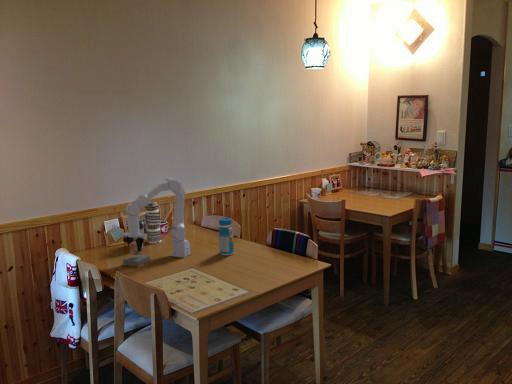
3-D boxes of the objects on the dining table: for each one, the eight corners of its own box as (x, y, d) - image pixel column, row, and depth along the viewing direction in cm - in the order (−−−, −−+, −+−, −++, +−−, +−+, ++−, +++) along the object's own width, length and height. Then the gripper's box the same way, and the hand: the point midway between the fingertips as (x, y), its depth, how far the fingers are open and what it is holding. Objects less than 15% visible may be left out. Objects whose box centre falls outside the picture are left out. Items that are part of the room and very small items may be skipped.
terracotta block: (142, 252, 251) (141, 242, 250) (137, 255, 247) (136, 244, 246) (135, 251, 253) (134, 241, 252) (130, 254, 249) (129, 243, 248)
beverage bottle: (221, 256, 257) (218, 221, 253) (218, 251, 265) (216, 217, 261) (235, 254, 259) (234, 220, 255) (232, 250, 267) (231, 216, 263)
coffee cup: (143, 251, 271) (141, 226, 268) (127, 251, 271) (125, 226, 268) (147, 246, 280) (145, 222, 277) (132, 246, 280) (129, 222, 278)
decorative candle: (165, 240, 291) (162, 201, 286) (154, 244, 283) (151, 204, 279) (154, 238, 296) (151, 200, 291) (144, 242, 288) (140, 203, 284)
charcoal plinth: (150, 261, 254) (149, 255, 253) (138, 267, 244) (138, 261, 244) (135, 259, 257) (134, 254, 257) (123, 265, 248) (122, 259, 248)
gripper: (117, 227, 246) (119, 251, 249) (140, 229, 241) (142, 254, 243) (126, 223, 252) (128, 247, 255) (148, 225, 247) (150, 250, 250)
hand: (135, 250), depth 250 cm, fingers closed on terracotta block, 4 cm apart
